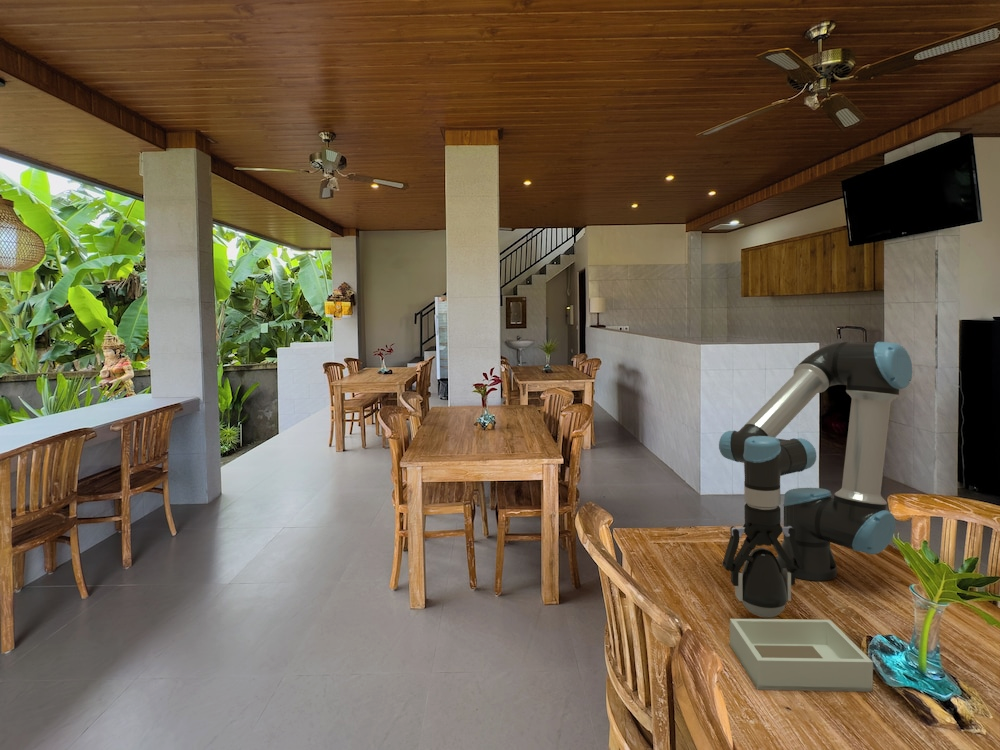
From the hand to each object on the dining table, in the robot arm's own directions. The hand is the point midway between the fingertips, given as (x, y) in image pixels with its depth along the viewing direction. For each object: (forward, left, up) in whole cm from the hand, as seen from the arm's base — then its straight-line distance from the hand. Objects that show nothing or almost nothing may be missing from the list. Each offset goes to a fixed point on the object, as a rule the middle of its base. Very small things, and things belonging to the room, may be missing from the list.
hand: (762, 598), depth 134 cm
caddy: (0, +17, -6) cm, 18 cm away
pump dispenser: (0, 0, -4) cm, 4 cm away
